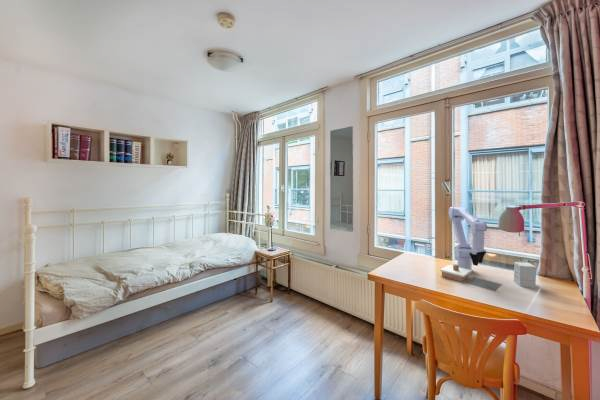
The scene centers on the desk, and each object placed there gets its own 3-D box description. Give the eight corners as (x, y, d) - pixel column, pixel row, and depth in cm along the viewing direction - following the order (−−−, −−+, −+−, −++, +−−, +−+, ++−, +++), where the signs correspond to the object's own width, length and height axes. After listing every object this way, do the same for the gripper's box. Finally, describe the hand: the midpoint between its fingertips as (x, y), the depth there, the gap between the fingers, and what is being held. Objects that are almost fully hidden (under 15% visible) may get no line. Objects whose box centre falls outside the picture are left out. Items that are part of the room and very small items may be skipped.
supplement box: (528, 283, 145) (529, 262, 144) (535, 288, 138) (537, 267, 137) (512, 282, 148) (514, 261, 147) (519, 287, 141) (520, 265, 140)
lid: (448, 266, 164) (449, 260, 164) (471, 271, 154) (471, 265, 154) (440, 271, 156) (440, 264, 156) (463, 277, 146) (463, 270, 146)
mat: (473, 277, 155) (474, 276, 155) (502, 285, 144) (502, 284, 144) (465, 284, 146) (465, 283, 146) (495, 292, 135) (495, 291, 135)
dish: (448, 272, 164) (448, 266, 163) (467, 277, 155) (468, 271, 155) (441, 277, 157) (441, 270, 156) (461, 282, 148) (461, 276, 148)
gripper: (482, 244, 141) (481, 268, 142) (489, 240, 150) (489, 262, 151) (468, 242, 147) (467, 265, 148) (476, 239, 156) (475, 260, 157)
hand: (477, 263), depth 150 cm, fingers open, 7 cm apart
